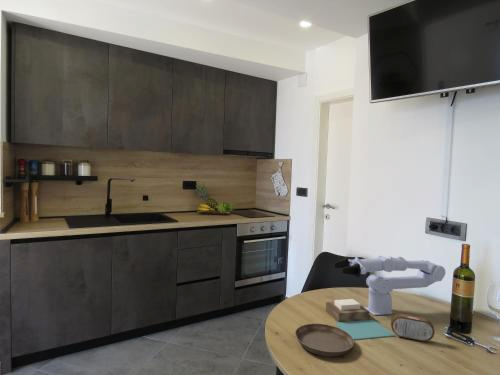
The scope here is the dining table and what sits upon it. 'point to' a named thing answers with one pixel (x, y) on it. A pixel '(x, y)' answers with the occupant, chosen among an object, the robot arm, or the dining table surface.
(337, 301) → the tile
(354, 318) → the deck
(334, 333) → the plant saucer
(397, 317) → the tin
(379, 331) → the mat
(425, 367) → the dining table surface
